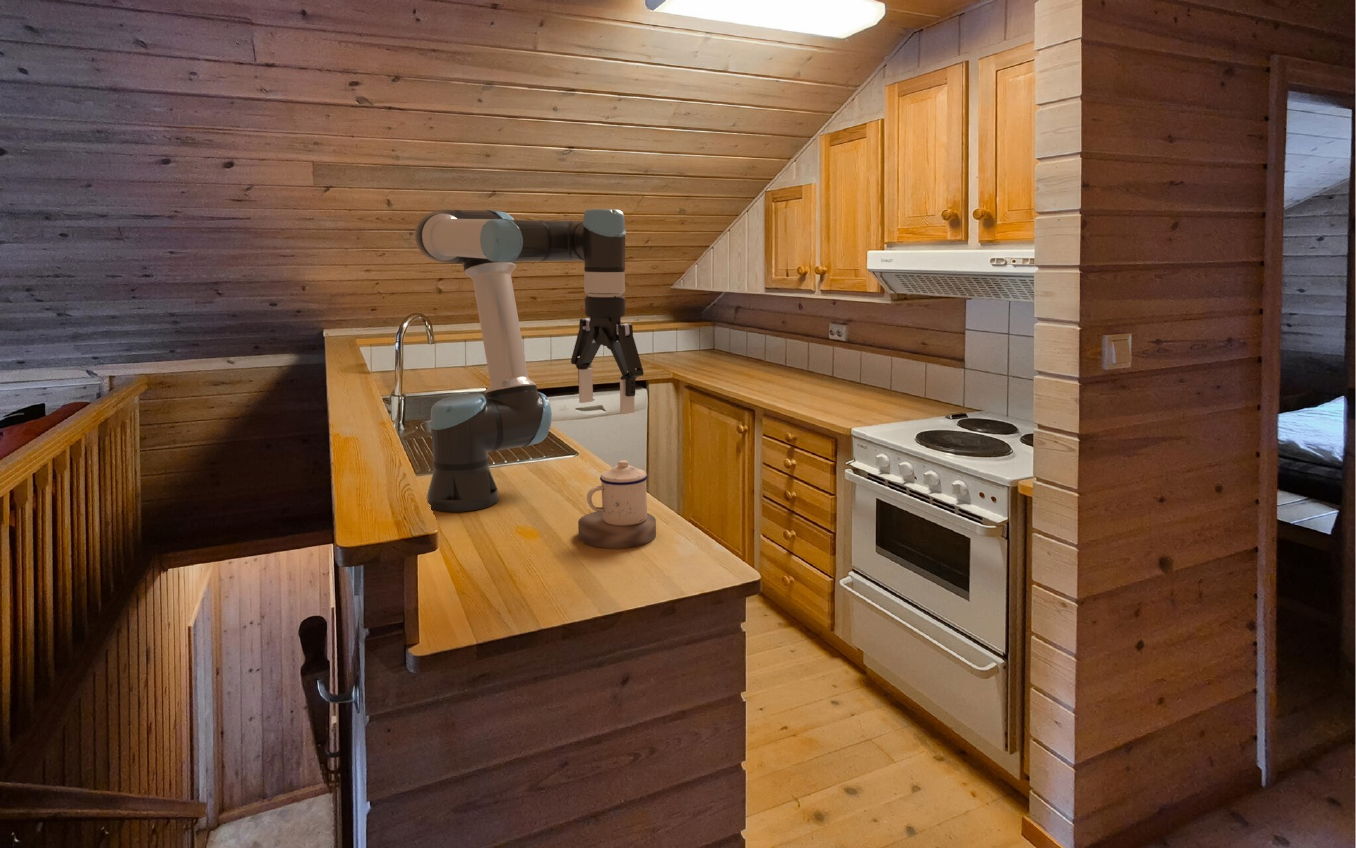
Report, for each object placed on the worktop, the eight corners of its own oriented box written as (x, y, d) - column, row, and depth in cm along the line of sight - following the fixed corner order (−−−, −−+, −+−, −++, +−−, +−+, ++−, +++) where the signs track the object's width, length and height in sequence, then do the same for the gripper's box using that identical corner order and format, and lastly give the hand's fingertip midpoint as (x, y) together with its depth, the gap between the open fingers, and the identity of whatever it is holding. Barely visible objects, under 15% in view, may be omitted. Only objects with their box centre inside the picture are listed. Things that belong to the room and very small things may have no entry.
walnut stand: (607, 554, 155) (607, 539, 154) (563, 534, 166) (563, 519, 165) (671, 537, 164) (671, 522, 164) (625, 518, 175) (625, 504, 175)
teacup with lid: (638, 509, 171) (636, 453, 169) (655, 522, 163) (654, 463, 160) (581, 518, 166) (578, 460, 164) (596, 532, 158) (593, 471, 156)
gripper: (663, 298, 150) (662, 415, 155) (584, 290, 169) (585, 395, 173) (628, 299, 146) (629, 421, 150) (551, 291, 164) (554, 399, 169)
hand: (606, 407), depth 162 cm, fingers open, 13 cm apart
